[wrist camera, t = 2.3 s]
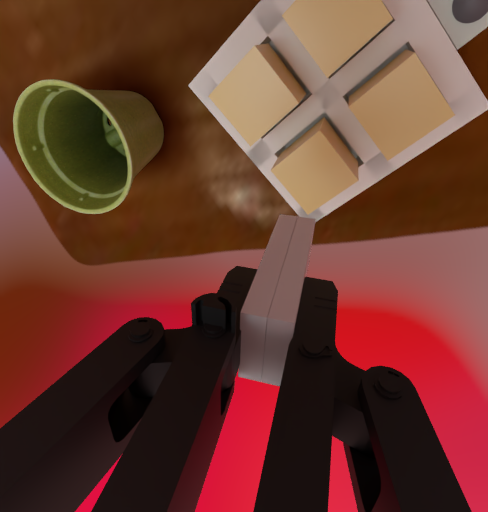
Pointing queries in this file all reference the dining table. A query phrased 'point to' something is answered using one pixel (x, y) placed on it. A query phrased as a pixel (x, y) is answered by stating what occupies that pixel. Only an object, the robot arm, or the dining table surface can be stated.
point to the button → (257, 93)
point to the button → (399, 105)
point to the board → (343, 89)
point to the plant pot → (85, 142)
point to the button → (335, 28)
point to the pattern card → (461, 18)
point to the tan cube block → (316, 167)
